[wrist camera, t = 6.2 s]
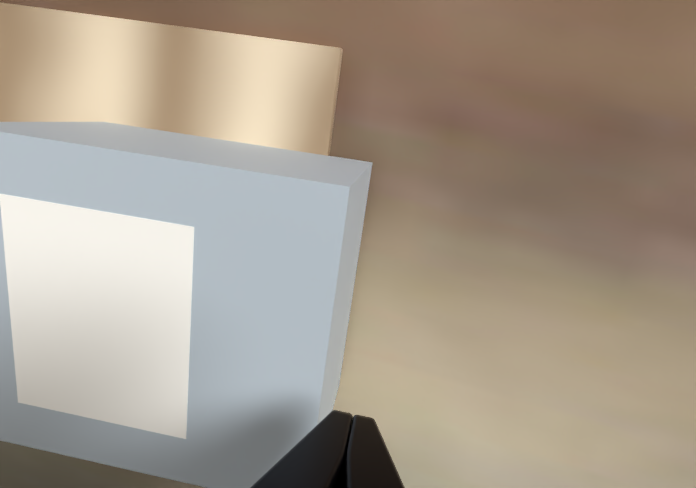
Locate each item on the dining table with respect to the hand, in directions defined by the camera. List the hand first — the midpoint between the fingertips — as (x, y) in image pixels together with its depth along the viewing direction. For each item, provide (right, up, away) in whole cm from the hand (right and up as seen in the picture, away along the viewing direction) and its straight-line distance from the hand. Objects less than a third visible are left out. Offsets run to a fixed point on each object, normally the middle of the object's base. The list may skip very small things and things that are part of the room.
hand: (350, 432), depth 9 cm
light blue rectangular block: (0, +1, +5) cm, 5 cm away
